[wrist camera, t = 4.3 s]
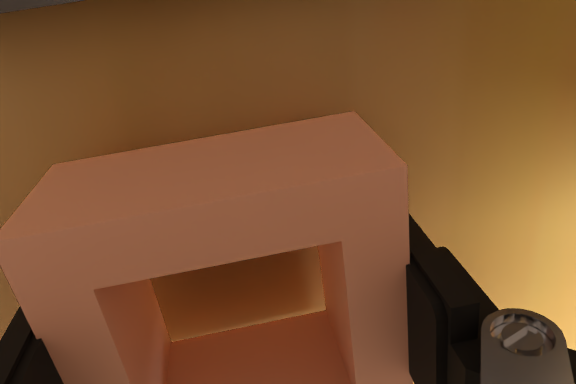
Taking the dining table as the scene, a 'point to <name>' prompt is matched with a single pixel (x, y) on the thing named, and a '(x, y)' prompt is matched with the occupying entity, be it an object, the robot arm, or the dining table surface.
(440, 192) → the dining table surface
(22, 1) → the base plate
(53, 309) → the square ring block
